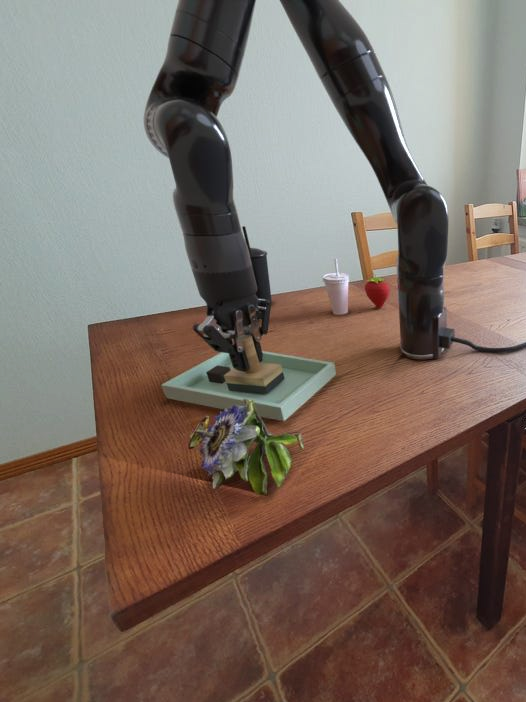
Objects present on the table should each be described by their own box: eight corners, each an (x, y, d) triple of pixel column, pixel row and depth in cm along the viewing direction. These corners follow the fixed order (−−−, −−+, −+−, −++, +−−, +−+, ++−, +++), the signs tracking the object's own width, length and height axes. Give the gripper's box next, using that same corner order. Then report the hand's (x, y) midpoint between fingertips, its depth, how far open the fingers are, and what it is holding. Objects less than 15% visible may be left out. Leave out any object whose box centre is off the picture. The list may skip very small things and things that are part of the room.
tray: (336, 378, 70) (334, 362, 68) (284, 425, 57) (280, 407, 56) (237, 360, 74) (232, 345, 72) (167, 401, 61) (160, 384, 59)
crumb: (232, 376, 67) (229, 367, 66) (222, 383, 65) (219, 374, 64) (220, 374, 67) (217, 365, 66) (209, 382, 65) (205, 372, 64)
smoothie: (345, 318, 95) (338, 263, 88) (322, 315, 96) (313, 260, 89) (357, 309, 101) (351, 257, 94) (335, 306, 102) (328, 254, 95)
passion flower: (232, 507, 50) (178, 433, 48) (307, 457, 56) (262, 389, 54) (233, 523, 41) (167, 432, 39) (323, 461, 47) (270, 380, 45)
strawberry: (377, 314, 98) (374, 277, 93) (361, 307, 102) (357, 271, 98) (396, 309, 102) (394, 273, 97) (379, 302, 106) (376, 267, 102)
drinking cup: (284, 303, 102) (268, 226, 93) (259, 311, 96) (239, 230, 86) (264, 297, 105) (247, 223, 95) (239, 305, 99) (217, 226, 89)
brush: (285, 378, 67) (272, 332, 62) (267, 394, 62) (252, 345, 58) (248, 375, 67) (234, 330, 63) (228, 390, 63) (211, 342, 59)
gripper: (203, 279, 48) (237, 391, 56) (276, 256, 60) (295, 351, 69) (154, 272, 49) (195, 383, 58) (236, 251, 61) (260, 345, 70)
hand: (249, 365), depth 63 cm, fingers closed on brush, 2 cm apart
